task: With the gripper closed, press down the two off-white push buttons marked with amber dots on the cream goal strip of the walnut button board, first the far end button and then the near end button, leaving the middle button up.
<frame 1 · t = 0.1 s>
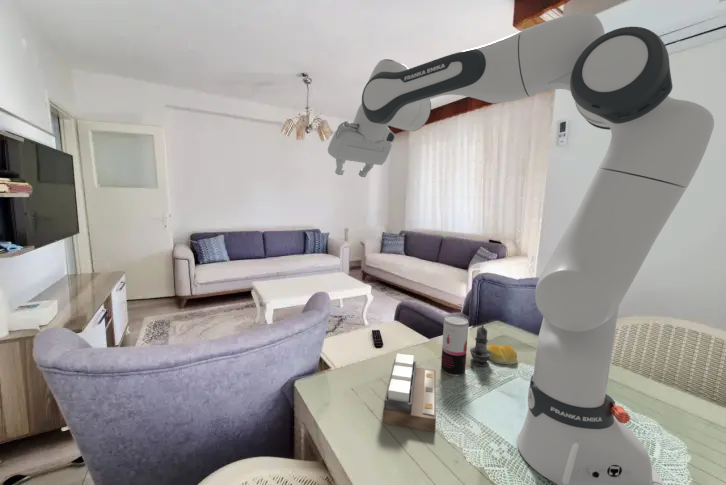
hand: (350, 175, 88), 54 cm above the table, tool tilted 30°, fingers open, 8 cm apart
button near: (399, 390, 69), point 6 cm above the table, slide at 0.0 cm
button far: (404, 363, 81), point 6 cm above the table, slide at 0.0 cm
bread roll: (501, 359, 96), on the table
grey tiered upright piece: (479, 363, 92), on the table
button board: (411, 399, 75), on the table
button middle: (402, 375, 75), point 6 cm above the table, slide at 0.0 cm
beverage can: (452, 370, 88), on the table
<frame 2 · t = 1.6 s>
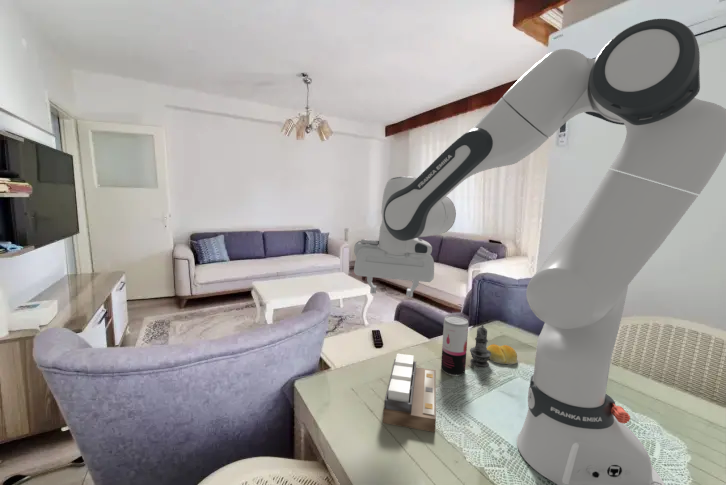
hand: (391, 294, 80), 23 cm above the table, tool pointing down, fingers open, 8 cm apart
nothing on the table moved.
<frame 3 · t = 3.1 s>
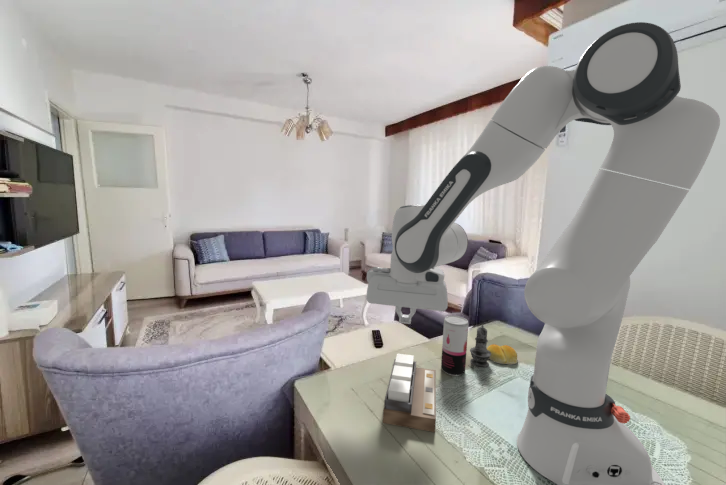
hand: (404, 322, 79), 17 cm above the table, tool pointing down, fingers closed
nothing on the table moved.
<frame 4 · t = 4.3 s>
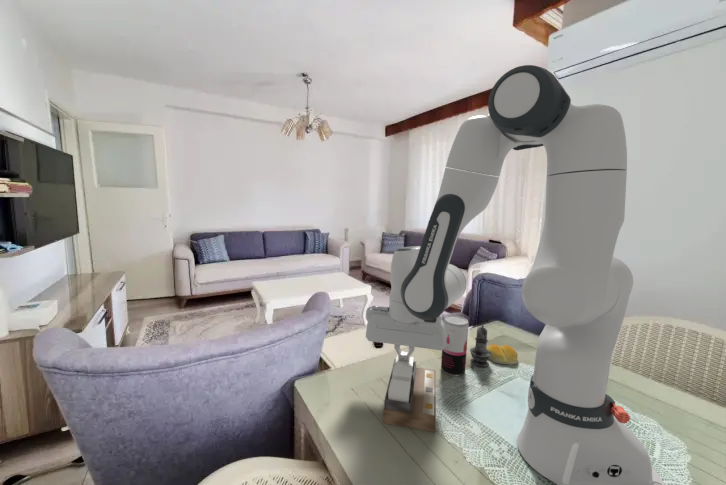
hand: (403, 359, 81), 7 cm above the table, tool pointing down, fingers closed, pressing on button far
button far: (404, 364, 81), point 5 cm above the table, slide at 0.5 cm, touching gripper
everything else where it was.
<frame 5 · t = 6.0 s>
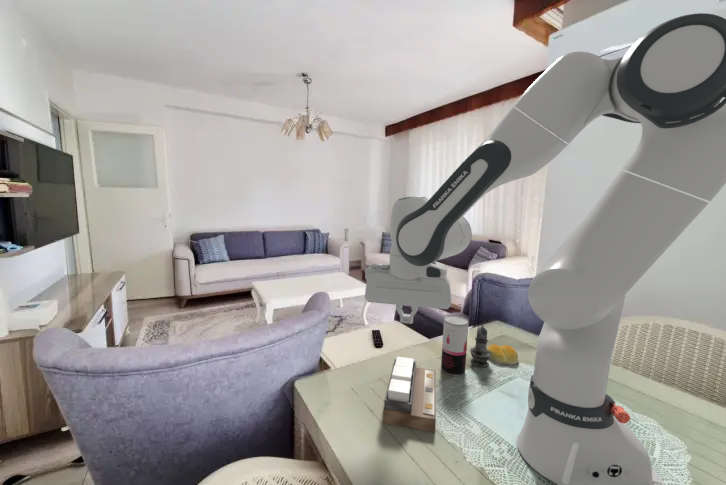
hand: (406, 322, 75), 19 cm above the table, tool pointing down, fingers closed
button far: (404, 366, 81), point 5 cm above the table, slide at 0.9 cm
everything else where it was.
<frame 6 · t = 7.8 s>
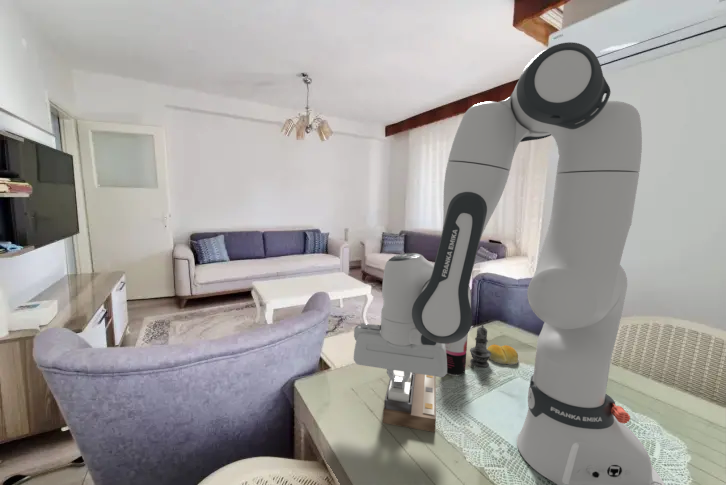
hand: (398, 386, 69), 7 cm above the table, tool pointing down, fingers closed, pressing on button near
button near: (399, 391, 69), point 5 cm above the table, slide at 0.3 cm, touching gripper
everything else where it was.
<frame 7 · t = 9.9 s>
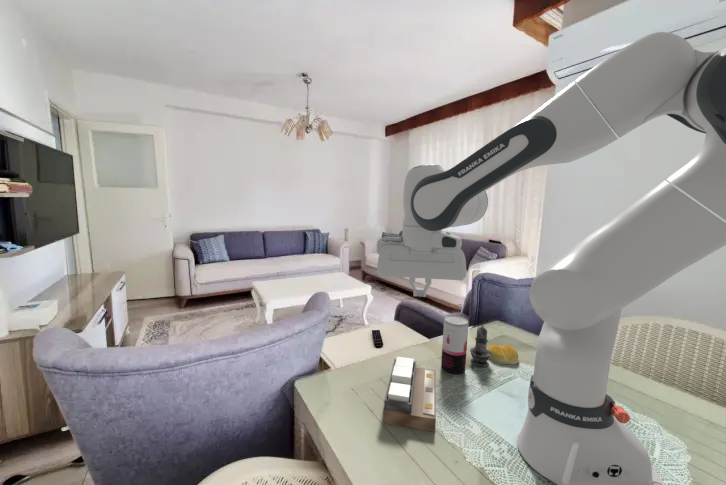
hand: (419, 295, 73), 25 cm above the table, tool pointing down, fingers closed
button near: (399, 394, 69), point 5 cm above the table, slide at 0.9 cm
everything else where it was.
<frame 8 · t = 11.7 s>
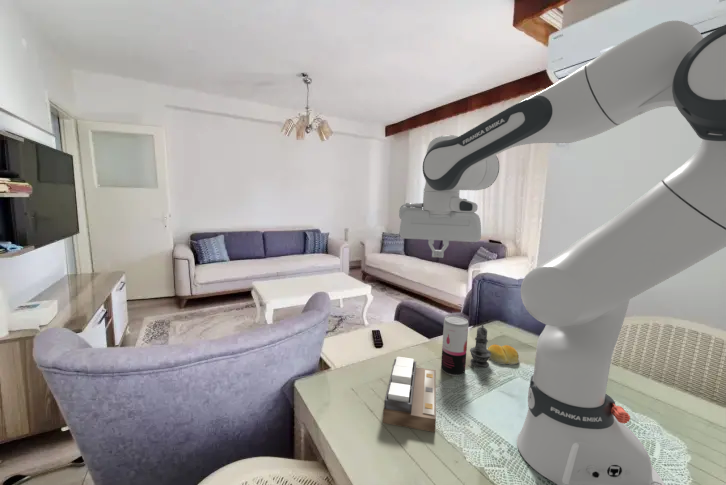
hand: (437, 257, 81), 33 cm above the table, tool pointing down, fingers closed
nothing on the table moved.
at the end: button far slide at 0.9 cm; button near slide at 0.9 cm; button middle slide at 0.0 cm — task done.
